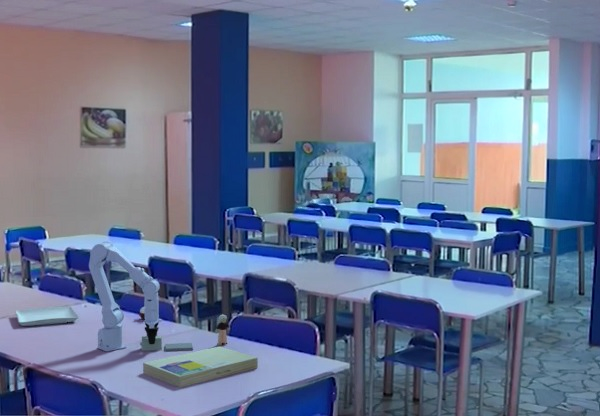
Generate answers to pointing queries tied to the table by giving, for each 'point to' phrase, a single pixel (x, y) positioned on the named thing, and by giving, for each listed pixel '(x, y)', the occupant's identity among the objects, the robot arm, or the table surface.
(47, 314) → the square plate
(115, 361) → the table surface
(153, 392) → the table surface
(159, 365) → the puzzle box
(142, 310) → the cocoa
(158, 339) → the tall sage green block
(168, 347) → the rubber mat
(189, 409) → the table surface
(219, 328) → the grandmother figurine
